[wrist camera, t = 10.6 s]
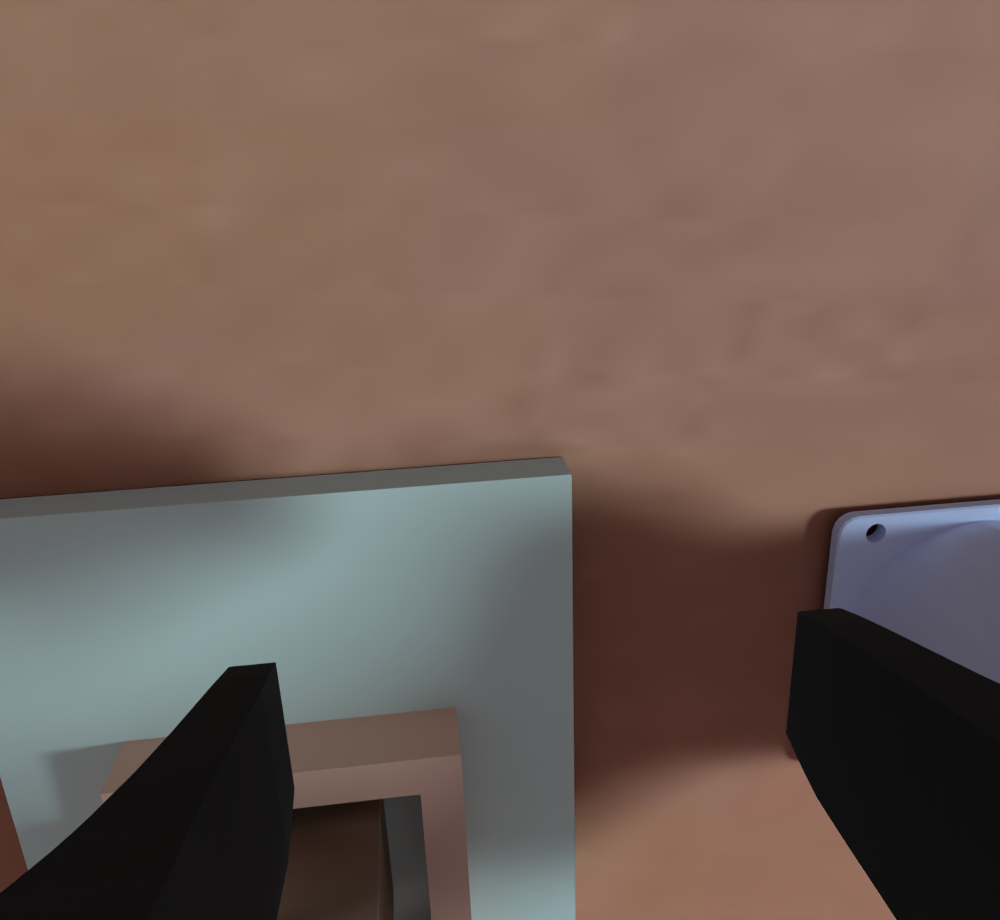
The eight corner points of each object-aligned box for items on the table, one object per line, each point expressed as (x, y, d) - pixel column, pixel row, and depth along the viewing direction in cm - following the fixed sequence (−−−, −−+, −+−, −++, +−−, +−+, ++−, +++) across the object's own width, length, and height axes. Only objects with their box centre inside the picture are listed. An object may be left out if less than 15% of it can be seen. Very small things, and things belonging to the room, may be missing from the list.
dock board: (562, 457, 21) (588, 504, 18) (568, 1036, 27) (589, 1137, 25) (-48, 502, 19) (-123, 562, 16) (121, 1101, 26) (88, 1214, 23)
